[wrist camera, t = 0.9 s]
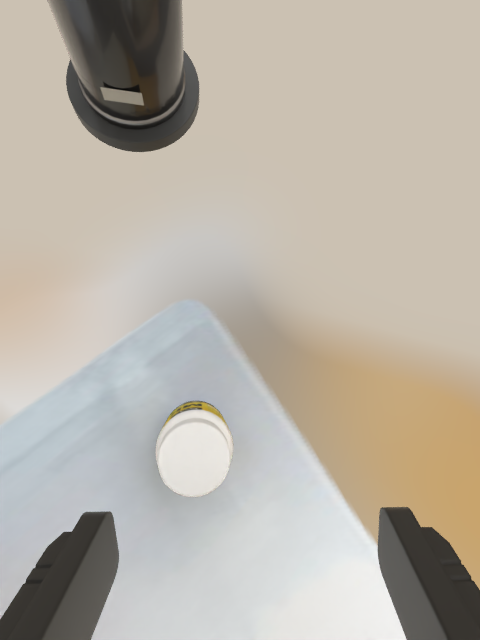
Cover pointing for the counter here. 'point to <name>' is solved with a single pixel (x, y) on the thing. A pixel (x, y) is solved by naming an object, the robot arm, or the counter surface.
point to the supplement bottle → (194, 449)
